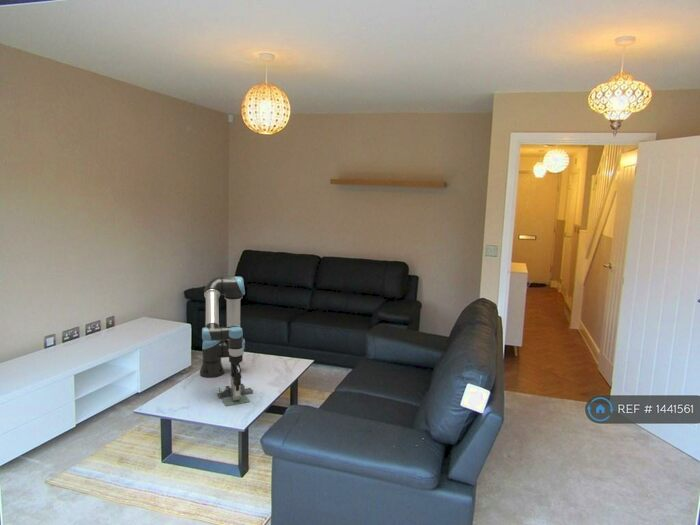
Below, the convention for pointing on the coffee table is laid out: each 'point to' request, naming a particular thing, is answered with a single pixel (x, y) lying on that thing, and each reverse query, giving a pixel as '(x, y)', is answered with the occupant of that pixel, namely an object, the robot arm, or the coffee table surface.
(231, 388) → the bar
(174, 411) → the coffee table surface
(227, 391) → the silver metal blocks
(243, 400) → the mat
